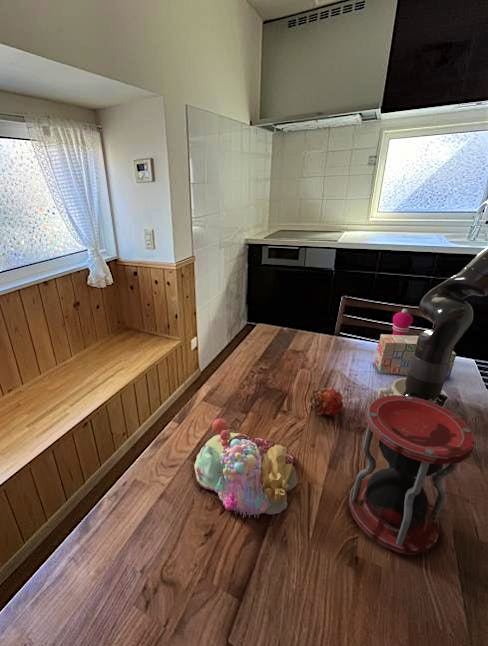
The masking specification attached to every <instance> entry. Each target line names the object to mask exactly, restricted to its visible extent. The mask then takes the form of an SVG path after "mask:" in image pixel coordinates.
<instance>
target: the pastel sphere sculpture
mask: <svg viewBox="0 0 488 646" xmlns="http://www.w3.org/2000/svg"><path fill="white" fill-rule="evenodd" d="M228 428H229V427H228V423H227V421H226V420H225V419H223V418H215V420H213V421H212V423H211V430H212V431H213V433H214V434H215V435H213V436H212V437H211V438H210V439H208V440H207V441H206V442H205V444H204V445H203V446H202V448H200V451H199V452H198V453H197V455H196V456H195V457H196V460H195V463H194V464H193V466H194V472H195V477H196V482H197V484H199V486H200V487H202V488H204V489H206V490H210V491H214V492H215V493H216V494H217V495H218V498H219V501H221V502H222V505H223V507H224V508H225V510H226V511H234V514H235V515H236V513H237V514H238V513H239V515H242V518H243V519H244V518H245V517H247V515H248V519H250V518H251V516H253V515H254V518H256V516H257V519H259V517H260V516H259V515H261V514H267V515H275V514H280V513H282V512H283V511H284V510H286V509H287V507H288V505H289V504H288V502H287V498H288V495H287V492H288V491H291V490H292V489H293V488H295V487H296V486H297V483H298V482H299V479H298V477H297V470H296V468H295V466H294V465H293V464H294V457H293V456H292V455H290V454H288V448H287V447H284V446H283V445H281V444H277V443H276V442H275V441H272V439H270V438H266V439H263V438H260V437H256V438H250V437H249V436H248V435H246V434H245V433H244V434H243V433H239V432H237V433H236V432H230V431H229V430H228Z"/></svg>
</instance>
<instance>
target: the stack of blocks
mask: <svg viewBox="0 0 488 646" xmlns="http://www.w3.org/2000/svg"><path fill="white" fill-rule="evenodd" d="M418 337H419V335H408V334H406V335H392V334H383V333H381V334H380V335H379V340H378V344H377V351H376V356H375V360H374V365H375V367H376V368H377V371H378V373H380V374H389V375H402V376H403V375H404V376H407V373H408V369H409V365H410V362H411V359H412V357H413V354H414V351H415V347H416V343H417V340H418ZM456 356H457V353H456V352H455V351H454V350H453V352H452V355H451V358H450V361H449V368H448V372H447V375H446V378H445V379H449V378H450V377H451V373H452V372H453V371H452V370H453V369H454V368H453V367H454V364H455V362H456V361H455V360H456Z"/></svg>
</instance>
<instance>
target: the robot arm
mask: <svg viewBox="0 0 488 646" xmlns="http://www.w3.org/2000/svg"><path fill="white" fill-rule="evenodd" d="M470 296H476V297H486V296H488V246H487V247H486V248H484V249H483V250H482V251H480V253H478V254H477V255H476V256H475V257H474V258H472V260H471V261H470V262H469V263H468V264H467V265H466V266H465V267H463V268H462V270H461V271H460V272H458V273H457V274H455V275H453V276H451V277H449V278H448V279H446V280H445V281H443V282H441V283H440V284H437V286H435V287H433V288H431V289H430V290H429V291H428V292H427V293H426V294H425V295H424V296H422V298H421V300H420V302H419V304H418V312H419V314H420V315H421V316H422V317H423V318H424V319H426V320H427V321H429V322H431V323H432V324H434V325H435V326H434V330H433V329H432V330H431V329H428V330H423V331H421V332H420V333H419V335H418V336H419V337H418V340H417V343H416V347H415V351H414V354H413V357H412V359H411V362H410V365H409V369H408V373H407V375H406V376H405V378H406V381H405V386H406V390H405V392H404V393H403V396H410V397H415V398H419V399H424V400H426V401H429V402H432V403H434V404H437V405H439V406H441V407H442V406H443V405H444V403H445V402H446V400H447V399H448V398H449V397H448V395H447V396H446V395H445V394H443V393H442V392H441V391H442V390H443V388H444V385H445V382H446V379H447V378H446V375H447V372H448V368H449V361H450V358H451V355H452V352H453V351H454V348H455V346H456V345H457V343H458V342H459V341H460V339H461V338H462V337H463V335H464V334H465V333H466V331H467V330H468V329H469V327H470V325H471V324H472V323H473V319H474V310H473V307H472V306H471V304H470V303H468V302H467V301H465V300H464V299H466V298H467V297H470ZM448 400H449V399H448ZM448 400H447V401H448Z"/></svg>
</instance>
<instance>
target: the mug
mask: <svg viewBox="0 0 488 646" xmlns="http://www.w3.org/2000/svg"><path fill="white" fill-rule="evenodd" d="M405 381H406V377H399V378H397V379H394V381H393V382H392V384H391V387H390V388H386V387H385V388H384V387H381V388H380V387H379V388H378V392H377V397H376V399H379V398H381V397H384V394H388V396H392V395H400V396H403V393H404V392H405V390H406V386H405ZM441 392H442V393H443V394H445V395H446V396H447V397H448V394H447V393H446V391H445V390H444V389H442V391H441ZM448 400H449V399H447V400H446V402H445V403H444V405H443V406H442V407H443V408H445V409H446V406H447V404H448Z"/></svg>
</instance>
